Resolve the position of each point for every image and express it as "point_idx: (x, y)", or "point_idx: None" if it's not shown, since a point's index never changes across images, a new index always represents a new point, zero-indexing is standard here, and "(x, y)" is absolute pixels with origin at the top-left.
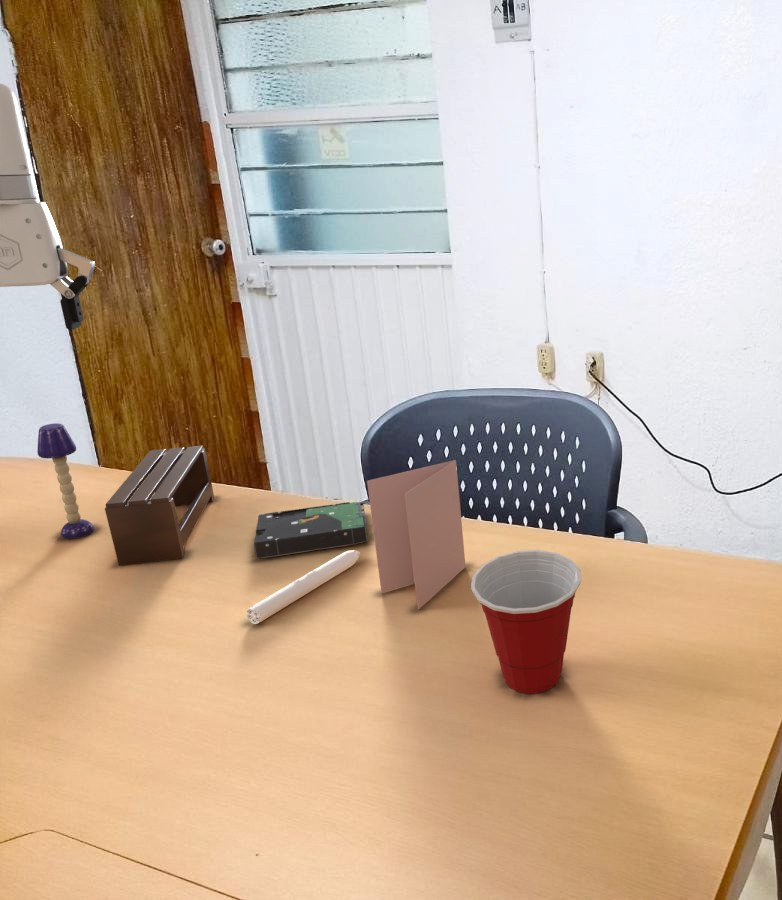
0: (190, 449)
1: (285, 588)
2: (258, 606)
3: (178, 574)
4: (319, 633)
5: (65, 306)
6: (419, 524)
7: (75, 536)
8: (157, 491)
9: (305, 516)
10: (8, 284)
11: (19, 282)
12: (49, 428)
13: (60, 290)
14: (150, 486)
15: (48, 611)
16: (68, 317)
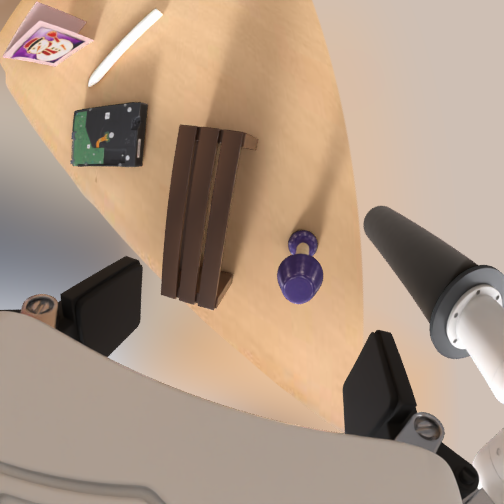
0: (171, 287)
1: (133, 30)
2: (152, 11)
3: (206, 99)
4: (132, 2)
5: (83, 284)
6: (46, 17)
7: (303, 230)
8: (190, 149)
9: (104, 146)
10: (222, 405)
11: (138, 380)
12: (299, 279)
13: (46, 322)
14: (199, 172)
15: (306, 74)
16: (108, 268)
